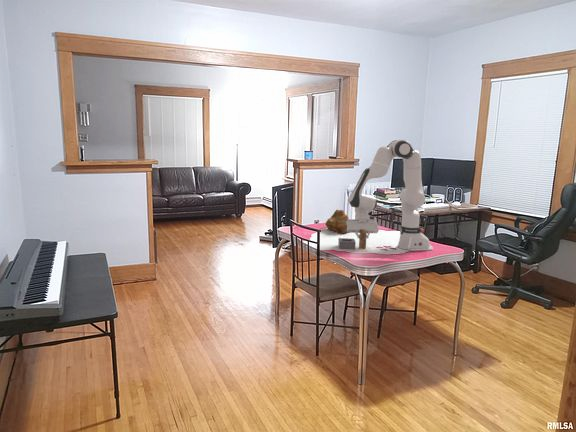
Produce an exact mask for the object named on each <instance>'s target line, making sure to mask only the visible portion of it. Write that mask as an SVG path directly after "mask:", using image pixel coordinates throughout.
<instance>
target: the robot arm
mask: <svg viewBox="0 0 576 432" xmlns="http://www.w3.org/2000/svg"><path fill="white" fill-rule="evenodd" d="M394 158H401V159H402V161H403V182H404V187H405V188H403V189H402V190H400V191H401V192H400V194H399V196H400V204H401V214H402V215H401V225H400V228H399V235H400V236H399V240H398V244H397V247H398V248H399V249H403V250H407V251H411V252H412V251H413V252H415V251H417V252H418V251H419V252H422V251H433V250H434V247H433V245H431V243H430V239H429V238H428V237H427V236H426V235H425V234H424V233H423V232H424V228H422V227H420V211H419V207H422V206H424V205H425V203H426V196H425V193H424V188H423V181H422V158H421V153H420V152H419V151H418V150H416V149H414V148H413V146H412V144H411V143H410V142H409V141H408V140H404V139H396V140H393V141H391V142H390V143H389V144H388V145H387V146H380V147H379V148H378V149H377V151H376V153H375V155H374V157H373V160H372V162H371V163H370V166H368V167H367V168H365V169H364V170H363V171H362V174H361V175H360V177H359V179H358V181H357V183H356V185H355V187H354V188H353V190H352V192H351V193H350V194H349V196H348V204H349V205H350V206H351V208H352V207H353V208H354V212H355V214H354V218H353V219H350V218H348V220H347V221H346V224H347V232H346V233H348V234H349V233H351V234H352V233H353V234H355V236H356V237H357V239H359V238H360V229H366V230H367V236H366V240H367V239H369V237H370V235H371V234H378V233H379V224H378V221H377V217H376V216H372V215H369V213H371V212H373V211H375V210H376V209H377V206H378V201H377V197H376V196H373V195H369V194H365V193H362V191H363V190H364V188H365V186H366V184H367V182H368V181H370V180H372V179H379V178H383V177H385V176H386V175H387V173H388V172H389V170H390V166H391V162H392V160H394Z"/></svg>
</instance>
